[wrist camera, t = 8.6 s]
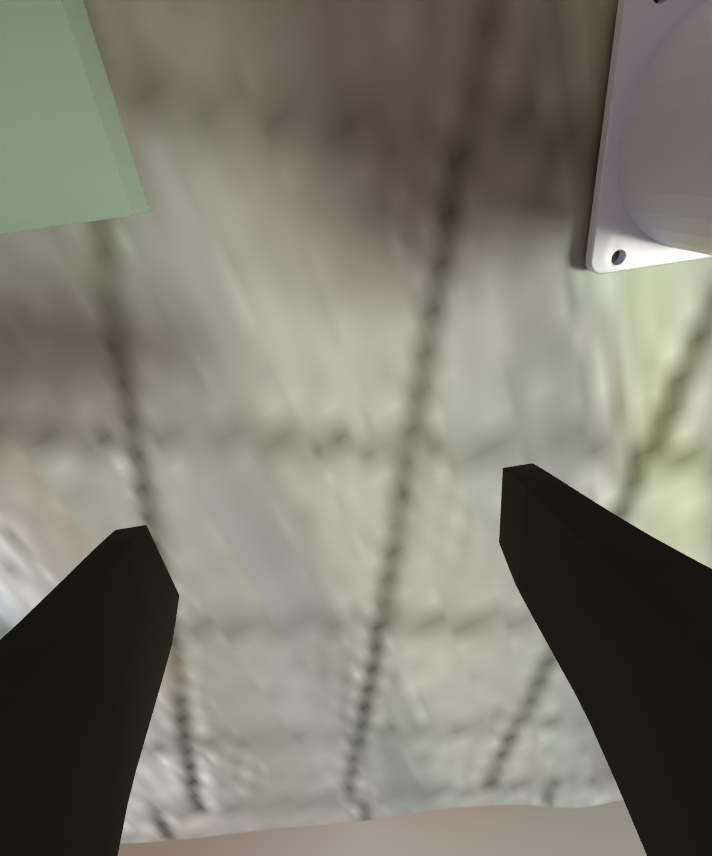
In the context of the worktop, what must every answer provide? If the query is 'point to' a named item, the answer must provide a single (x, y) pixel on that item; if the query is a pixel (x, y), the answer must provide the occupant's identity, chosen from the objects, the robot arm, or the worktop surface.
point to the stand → (59, 122)
